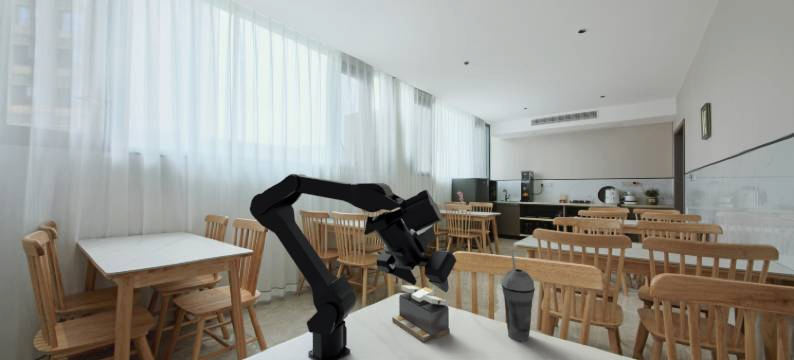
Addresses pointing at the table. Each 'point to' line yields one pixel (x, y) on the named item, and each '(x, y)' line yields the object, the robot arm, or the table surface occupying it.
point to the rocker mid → (420, 293)
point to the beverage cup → (518, 302)
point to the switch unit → (422, 318)
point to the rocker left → (410, 289)
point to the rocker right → (434, 300)
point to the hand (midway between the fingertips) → (430, 286)
